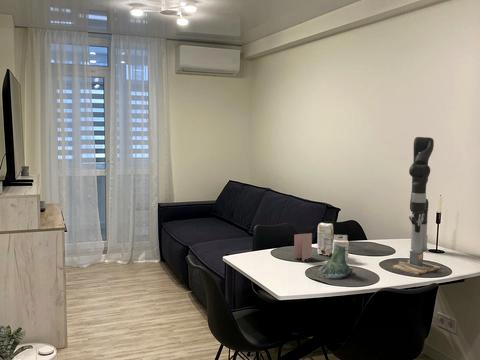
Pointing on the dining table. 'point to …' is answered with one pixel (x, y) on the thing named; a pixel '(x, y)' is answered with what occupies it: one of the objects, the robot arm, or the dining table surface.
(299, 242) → the greeting card
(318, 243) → the juice carton
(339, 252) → the tree stump
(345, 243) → the ink cartridge box
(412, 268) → the rail board
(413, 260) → the module
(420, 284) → the dining table surface
